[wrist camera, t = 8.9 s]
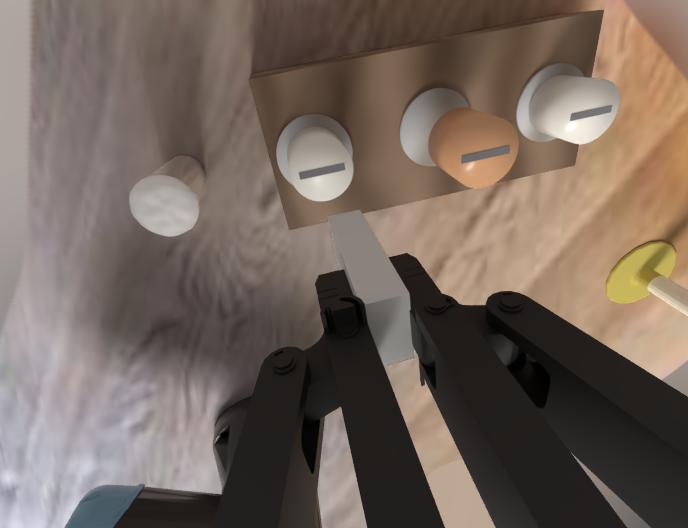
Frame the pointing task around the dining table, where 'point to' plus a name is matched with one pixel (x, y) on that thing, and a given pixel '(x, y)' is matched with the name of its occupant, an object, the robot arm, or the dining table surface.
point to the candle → (647, 276)
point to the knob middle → (473, 146)
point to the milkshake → (169, 197)
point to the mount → (420, 107)
